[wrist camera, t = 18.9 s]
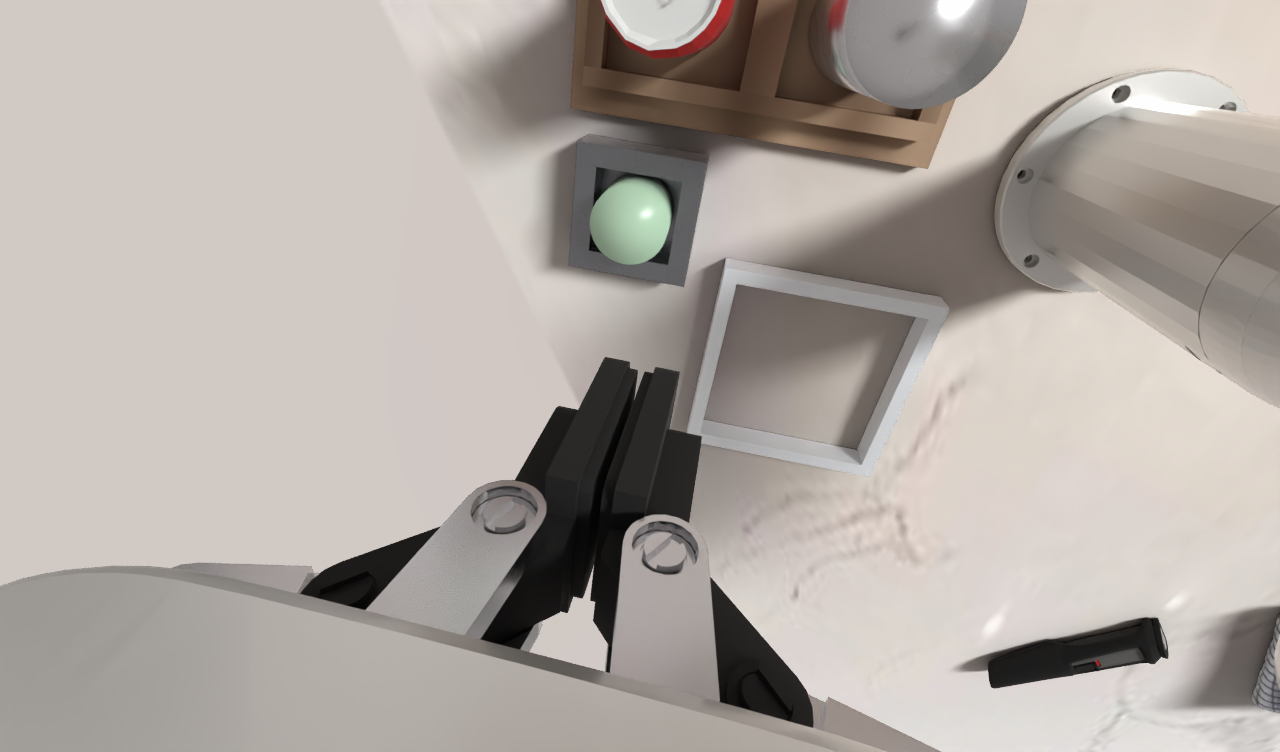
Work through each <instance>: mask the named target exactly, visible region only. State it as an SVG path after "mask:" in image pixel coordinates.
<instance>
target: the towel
mask: <svg viewBox="0 0 1280 752" xmlns="http://www.w3.org/2000/svg"><path fill="white" fill-rule="evenodd" d="M1274 632H1275V633H1274V637H1273V640H1272V642H1271V644H1270V647H1269V648H1268V650H1267V655H1266V657H1265V663H1264V664H1263V668H1262V669H1261V671H1260V673H1259V676H1258V682H1257V683H1256V687H1255V688H1254V690H1253V693H1252V694H1253V695H1252V701H1253V702H1254V704H1255V705H1257V706H1259V707H1261V708H1263V709H1265V710H1269V711H1273V712H1276V713H1280V689H1279V686H1278V683H1277V680H1276V676H1275V665H1274V655H1275V649H1276V645H1277V642H1278V638H1279V635H1280V615H1279V617H1278V618H1277V621H1276V626H1275V628H1274Z"/></svg>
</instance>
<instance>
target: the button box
mask: <svg viewBox="0 0 1280 752" xmlns="http://www.w3.org/2000/svg"><path fill="white" fill-rule="evenodd" d="M708 160H709V155H707V154H701V153H695V152H690V151H684V150H678V149H672V148H666V147H661V146H655V145H649V144H643V143H637V142H632V141H626V140H620V139H614V138H608V137H603V136H597V135H591V134H588V135H586V136H584V137H583V138H581V139H580V140H578V141H577V153H576V167H575V181H574V196H573V210H572V224H571V238H570V252H569V266H574V267H579V268H585V269H590V270H595V271H601V272H606V273H612V274H617V275H622V276H628V277H633V278H639V279H644V280H649V281H655V282H660V283H666V284H671V285H676V286H682V287H684V284H685V279H686V274H687V269H688V264H689V259H690V254H691V248H692V243H693V238H694V233H695V228H696V222H697V217H698V212H699V207H700V202H701V196H702V191H703V186H704V181H705V176H706V170H707V165H708ZM629 173H634V174H640V175H646V176H651V177H655V178H657V179H658V180H659V181H660V182H662V183H663V184H664V186H665V187H666V188H667V190H668V191H669V193H670V195H671V198H672V201H673V207H674V213H673V219H672V223H671V225H670V228H669V231H668V234H667V237H666V240H665V242H664V244H663V246H662V248H661V249H660V251H659V252H658V253H657V254H656V255H655V256H654V257H653V258H651V259H650V260H648V261H646V262H643V263H640V264H634V265H627V264H621V263H618V262H615V261H613V260H611V259H609V258H608V257H607V256H605V255H604V254H603V253H602V252H601V251H600V250H599V249H598V247H597V246H596V244H595V242H594V240H593V238H592V235H591V231H590V216H591V212H592V209H593V207H594V205H595V203H596V202H597V200H598V199H599V198H600V197H601V196H602V194H603V193H604V192H605V191H606V190H607V189H608V188H609V186H610V185H611V184H612V183H613V182H614V181H615V180H616V179H618V178H619V177H621V176H623V175H626V174H629Z"/></svg>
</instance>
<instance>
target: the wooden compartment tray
mask: <svg viewBox="0 0 1280 752" xmlns="http://www.w3.org/2000/svg"><path fill="white" fill-rule="evenodd" d="M816 1H817V0H735V3H734V8H733V14H732V16H731V18H730V21H729V23H728V25H727V27H726V28H725V30H724V31H723V33H722V34H721V35H720V37H719V38H718V39H717V40H716V41H715V42H714V43H713V44H711V45H710V46H709V47H708V48H706V49H704V50H701V51H699V52H697V53H695V54H691V55H686V56H682V57H673V58H660V59H653V58H651V57H649V56H646V55H644V54H642V53H640V52H637V51H635V50H633V49H630V48H628V47H627V46H626V44H625V43H624V42H623V40H622V39H621V38H620V37H619V35H618V34H617V33H616V32H615V30H614V29H613V28H612V26H611V25H610V24H609V23H608V21H607V19H606V17H605V14H604V11H603V8H602V6H601V3H600V0H577V12H576V28H575V44H574V60H573V76H572V92H571V108H573V109H578V110H584V111H590V112H596V113H602V114H608V115H614V116H620V117H625V118H631V119H637V120H643V121H649V122H655V123H661V124H667V125H673V126H678V127H684V128H690V129H696V130H702V131H708V132H714V133H720V134H725V135H731V136H737V137H743V138H749V139H755V140H761V141H767V142H772V143H778V144H784V145H790V146H796V147H802V148H808V149H814V150H819V151H825V152H831V153H837V154H843V155H849V156H855V157H861V158H867V159H872V160H878V161H884V162H890V163H896V164H902V165H908V166H914V167H919V168H925V169H928V167H929V164H930V162H931V159H932V157H933V154H934V152H935V149H936V147H937V144H938V142H939V139H940V137H941V134H942V132H943V129H944V127H945V124H946V122H947V119H948V116H949V114H950V111H951V109H952V106H953V104H954V101H955V99H956V98H955V99H953V100H951V101H948V102H946V103H944V104H940V105H937V106H934V107H928V108H923V109H905V108H899V107H894V106H891V105H888V104H886V103H883V102H881V101H878V100H875V99H873V98H870V97H868V96H865V95H863V94H860V93H858V92H855V91H852V90H850V89H847V88H845V87H842V86H840V85H837V84H835V83H833V82H831V81H830V80H828V79H827V78H826V77H825V76H823V75H822V73H821V72H820V71H819V70H818V68H817V67H816V65H815V63H814V61H813V59H812V56H811V53H810V49H809V43H808V30H809V22H810V17H811V14H812V11H813V8H814V6H815V3H816Z"/></svg>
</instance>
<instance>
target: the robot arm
mask: <svg viewBox="0 0 1280 752" xmlns="http://www.w3.org/2000/svg"><path fill="white" fill-rule="evenodd" d="M1115 89H1116V94H1115V95H1114V96H1113V97H1112V94H1113V92H1114V91H1115ZM1021 170H1023V173H1022V175H1021V176H1019V177H1017V175H1018V173H1019V172H1020V171H1021ZM994 220H995V229H996V235H997V238H998V241H999V243H1000V246H1001V249H1002V250H1003V252H1004V253H1005V255H1006V256H1007V258H1008V259H1009V261H1010V262H1011V263H1012V264H1013V265H1014V266H1015V267H1016V268H1017V269H1018V270H1020V271H1021V272H1022V273H1023V274H1025V275H1026V276H1028V277H1029V278H1031V279H1032V280H1034V281H1035V282H1037V283H1039V284H1042V285H1044V286H1047V287H1049V288H1052V289H1057V290H1062V291H1068V292H1098V291H1099V292H1101V293H1102V294H1103V295H1105V296H1106V297H1108V298H1109V299H1111V300H1112V301H1114V302H1115V303H1117V304H1118V305H1120V306H1121V307H1123V308H1124V309H1126V310H1127V311H1129V312H1130V313H1131V314H1133V315H1134V316H1136V317H1137V318H1139V319H1140V320H1142V321H1143V322H1145V323H1146V324H1148V325H1149V326H1151V327H1152V328H1154V329H1155V330H1157V331H1158V332H1159V333H1161V334H1162V335H1164V336H1165V337H1167V338H1168V339H1170V340H1171V341H1173V342H1174V343H1176V344H1177V345H1179V346H1180V347H1182V348H1183V349H1184V350H1186V351H1187V352H1189V353H1190V354H1192V355H1193V356H1195V357H1196V358H1198V359H1199V360H1201V361H1202V362H1204V363H1205V364H1207V365H1208V366H1210V367H1212V368H1213V369H1215V370H1216V371H1217V372H1219V373H1221V374H1222V375H1224V376H1225V377H1227V378H1228V379H1230V380H1231V381H1233V382H1234V383H1236V384H1237V385H1238V386H1240V387H1241V388H1243V389H1244V390H1246V391H1247V392H1249V393H1251V394H1253V395H1254V396H1256V397H1258V398H1260V399H1262V400H1263V401H1265V402H1267V403H1269V404H1271V405H1273V406H1276V407H1278V408H1280V117H1276V116H1268V115H1261V114H1253V113H1250V112H1249V110H1248V108H1247V105H1246V103H1245V101H1244V100H1243V99H1242V98H1241V97H1240V96H1239V95H1238V94H1237V93H1236V92H1235V91H1234V89H1233V88H1232V87H1230V86H1229V85H1227V84H1225V83H1224V82H1222V81H1220V80H1218V79H1217V78H1215V77H1213V76H1210V75H1206V74H1203V73H1199V72H1196V71H1192V70H1182V69H1169V68H1168V69H1148V70H1140V71H1136V72H1132V73H1127V74H1123V75H1118V76H1116V77H1113V78H1111V79H1108V80H1106V81H1103V82H1101V83H1098V84H1096V85H1093V86H1091V87H1089V88H1088V89H1086V90H1084V91H1083V92H1081V93H1079V94H1077V95H1076V96H1074V97H1072V98H1070V99H1069V100H1067V101H1066V102H1065V103H1063V104H1062V105H1061V106H1060V107H1058V108H1057V109H1056V110H1054V111H1053V112H1052V113H1050V114H1049V115H1048V116H1047V117H1046V118H1045V119H1044V120H1043V121H1042V122H1041V123H1040V124H1039V125H1038V126H1037V127H1036V128H1035V129H1034V130H1033V131H1032V132H1031V133H1030V134H1029V135H1028V136H1027V138H1026V139H1025V140H1024V142H1023V143H1022V144H1021V146H1020V147H1019V149H1018V150H1017V151H1016V153H1015V154H1014V155H1013V157H1012V159H1011V161H1010V163H1009V165H1008V167H1007V169H1006V171H1005V173H1004V175H1003V177H1002V180H1001V183H1000V186H999V189H998V193H997V196H996V203H995V212H994ZM1027 256H1029V257H1028V258H1027V259H1025V258H1026V257H1027ZM679 373H680V372H678V371H673V370H668V369H663V368H658V367H655V370H654V373H650V372H644V375H643V378H642V380H641V383H640V386H639V389H638V391H637V394H636V397H635V390H636V382H637V375H638V370H635V369H630V362H628V361H623V360H618V359H613V358H608V357H605V358H604V360H603V362H602V364H601V366H600V368H599V370H598V372H597V374H596V376H595V378H594V380H593V382H592V384H591V386H590V388H589V390H588V392H587V394H586V396H585V398H584V400H583V402H582V404H581V406H580V408H579V410H576V409H571V408H566V407H561V406H559V407H557V408H556V409H555V411H554V413H553V414H552V416H551V418H550V419H549V421H548V423H547V425H546V426H545V428H544V430H543V432H542V433H541V435H540V437H539V439H538V441H537V442H536V444H535V446H534V448H533V449H532V451H531V453H530V455H529V456H528V458H527V460H526V462H525V463H524V465H523V467H522V469H521V470H520V472H519V474H518V476H517V477H516V479H515V480H501V481H496V482H492V483H488V484H486V485H484V486H482V487H479V488H477V489H476V490H475V491H474V492H472V494H470V495H469V496H468V497H467V498H466V499H465V500H464V501H463V502H462V504H461V505H460V506H459V507H458V508H457V509H456V510H455V511H454V512H453V514H452V515H451V516H450V517H449V518H448V519H447V520H446V521H445V522H444V524H443V525H442V526H441V527H438V528H435V529H432V530H430V531H427V532H424V533H421V534H418V535H415V536H413V537H410V538H407V539H404V540H401V541H399V542H396V543H393V544H390V545H387V546H385V547H382V548H379V549H376V550H373V551H371V552H368V553H365V554H363V555H359V556H357V557H354V558H351V559H348V560H345V561H343V562H340V563H338V564H336V565H333V566H331V567H329V568H327V569H325V570H324V571H322V572H321V573H314V572H313V569H312V566H285V565H254V564H253V565H252V564H220V563H192V564H183V565H179V566H177V567H173V568H162V567H152V566H105V567H94V568H83V569H72V570H63V571H57V572H51V573H45V574H40V575H36V576H32V577H27V578H23V579H20V580H17V581H14V582H11V583H8V584H5V585H2V586H0V752H941V751H939V750H937V749H935V748H933V747H930V746H928V745H926V744H924V743H922V742H920V741H918V740H916V739H914V738H912V737H910V736H908V735H906V734H904V733H902V732H900V731H898V730H895V729H893V728H891V727H889V726H887V725H885V724H883V723H881V722H879V721H877V720H875V719H873V718H871V717H869V716H867V715H865V714H863V713H861V712H858V711H856V710H854V709H852V708H850V707H848V706H846V705H844V704H842V703H840V702H838V701H836V700H834V699H832V698H830V697H828V698H827V700H826V702H823V701H821V700H819V699H817V698H814V697H812V696H810V695H808V693H807V691H806V689H805V688H804V686H803V685H802V684H801V682H800V681H799V679H798V678H797V676H796V675H795V674H794V673H793V672H792V671H791V669H790V668H789V667H788V666H787V665H786V664H785V663H784V661H783V660H782V659H781V658H780V657H779V656H778V654H777V653H776V652H775V651H774V650H773V649H772V648H771V646H770V645H769V644H768V643H767V642H766V641H765V639H764V638H763V637H762V636H761V635H760V634H759V633H758V631H757V630H756V629H755V628H754V627H753V626H752V624H751V623H750V622H749V621H748V620H747V619H746V618H745V616H744V615H743V614H742V613H741V612H740V611H739V610H738V608H737V607H736V606H735V605H734V604H733V603H732V601H731V600H730V599H729V598H728V597H727V596H726V595H725V593H724V592H723V591H722V590H721V589H720V588H719V586H718V585H717V584H716V583H715V582H714V581H713V580H712V578H711V577H710V571H709V558H708V550H707V546H706V542H705V540H704V538H703V537H702V535H701V534H700V532H699V531H698V530H697V529H696V528H694V527H693V526H692V525H691V524H690V523H689V518H690V512H691V505H692V499H693V492H694V486H695V480H696V473H697V467H698V460H699V454H700V447H701V440H702V436H699V435H694V434H689V433H684V432H680V431H675V430H670V429H669V428H670V423H671V417H672V412H673V406H674V401H675V396H676V390H677V385H678V379H679ZM634 397H635V400H634ZM593 566H594V571H593V580H592V589H591V601H594V602H595V610H594V618H593V621H594V623H595V624H596V626H597V627H598V629H599V631H600V632H601V634H602V635H603V637H604V638H605V640H606V642H607V643H608V646H607V653H606V663H605V672H603V671H600V670H596V669H592V668H588V667H584V666H580V665H576V664H572V663H568V662H565V661H561V660H557V659H553V658H549V657H546V656H542V655H537V654H533V653H530V652H529V651H530V649H531V648H532V646H533V644H534V642H535V640H536V639H537V637H538V635H539V632H540V629H541V627H542V621H543V620H545V619H547V618H549V617H551V616H553V615H555V614H557V613H559V612H560V611H562V612H565V613H568V610H569V607H570V604H571V602H572V599H573V596H574V597H578V598H583V596H584V593H585V591H586V587H587V584H588V581H589V578H590V575H591V572H592V569H593ZM1274 665H1275V676H1276V680H1277V683H1278V686H1279V689H1280V635H1279V638H1278V642H1277V645H1276V649H1275V655H1274Z"/></svg>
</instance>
